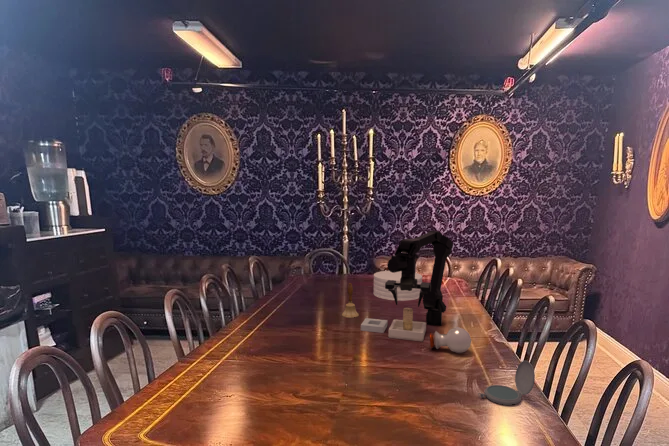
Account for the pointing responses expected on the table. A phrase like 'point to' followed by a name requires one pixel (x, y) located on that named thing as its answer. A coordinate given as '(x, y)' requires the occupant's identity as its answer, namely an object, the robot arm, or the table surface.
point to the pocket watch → (507, 394)
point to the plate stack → (402, 295)
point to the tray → (399, 333)
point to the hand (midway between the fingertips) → (407, 305)
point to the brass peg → (408, 319)
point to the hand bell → (350, 305)
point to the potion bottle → (452, 340)
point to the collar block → (374, 325)
